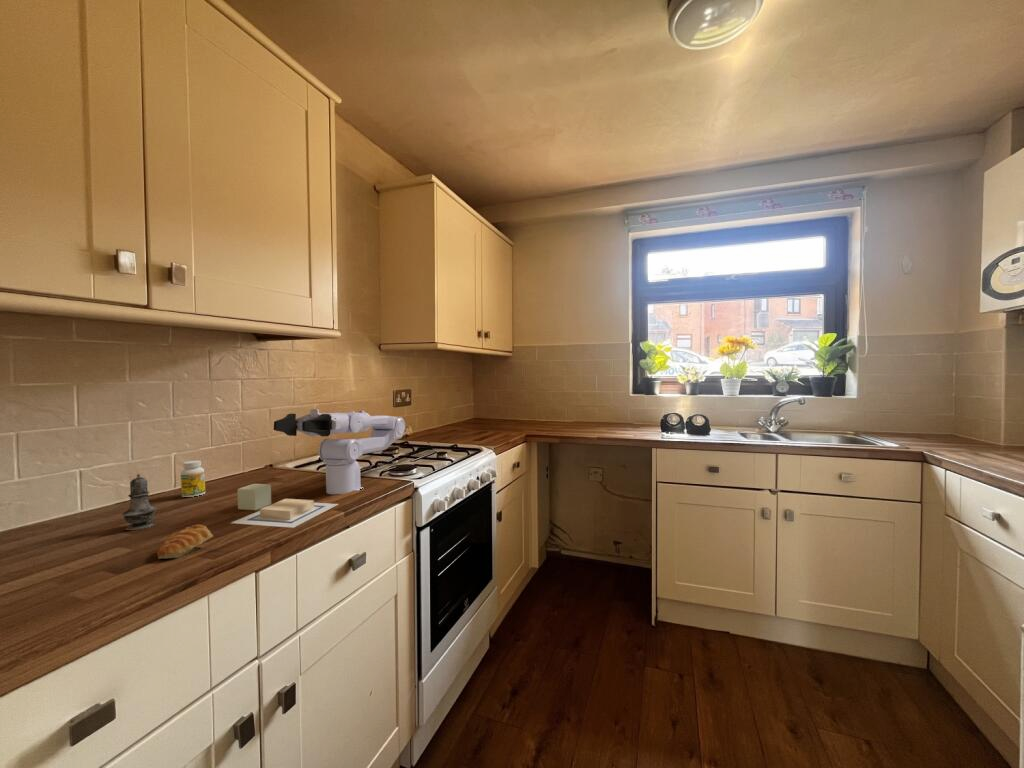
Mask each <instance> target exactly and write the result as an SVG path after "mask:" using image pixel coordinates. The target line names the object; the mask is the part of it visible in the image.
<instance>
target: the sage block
mask: <svg viewBox="0 0 1024 768" xmlns="http://www.w3.org/2000/svg"><path fill="white" fill-rule="evenodd" d="M236 490H237V509H238V510H245V511H257V510H260V509H261V508H264V507H266V506H269V505H271V504H272V485H271V484H267V483H252V484H248V485H246V486H242V487H239V488H238V489H236Z"/></svg>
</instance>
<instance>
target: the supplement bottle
mask: <svg viewBox="0 0 1024 768" xmlns="http://www.w3.org/2000/svg"><path fill="white" fill-rule="evenodd" d="M182 463H183V464H182V467H183V468H184V469H183V470H181V471H180V488H181V489H180V490H181V493H180V494H181V497H182V498H183V497H193V498H195V497H194V496H198V497H200V496H199V495H202V496H204V495H205V494H206V478H205V476H206V474H205V469H204V468H203V467H202V460H189V461H185V462H182ZM203 494H204V495H203Z"/></svg>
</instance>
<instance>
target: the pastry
mask: <svg viewBox="0 0 1024 768" xmlns="http://www.w3.org/2000/svg"><path fill="white" fill-rule="evenodd" d="M213 537H214V534H212V533H211V531H210V529H208V527H207V526H206V525H202V524H194V525H191V526H186V527H184V529H183V530H182V529H181V530H179V531H177V532H176V533H172V535H170V536H169V537H168V538H167V539H166V540H165V541H164V542H163V543H162V544H161V546H160V547H159V549H158V550H157V552H156V554H157V559H158V560H160V559H177V558H181V557H183V556H186V555H188V553H189V554H192V553H194V552H196V551H197V550H200V549H201V547H197V546H200V545H202V544H203V543H204V542H206V541H208V540H210V539H212V538H213ZM185 554H186V555H185Z"/></svg>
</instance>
